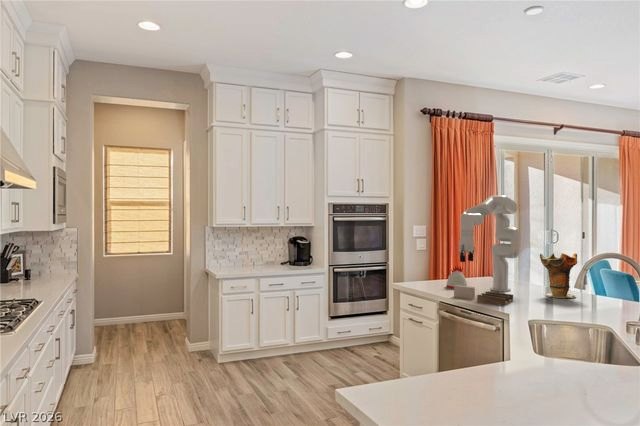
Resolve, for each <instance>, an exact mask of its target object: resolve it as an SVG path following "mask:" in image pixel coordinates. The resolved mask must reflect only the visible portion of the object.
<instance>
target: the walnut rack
mask: <svg viewBox="0 0 640 426" xmlns="http://www.w3.org/2000/svg"><path fill="white" fill-rule="evenodd" d="M476 300H477V301H476V302H477V303H482V302H483V303H482V304H489V303H491V304H490V305H497V304H500V305H499V306H504V305H505V306H508V305H509V304H511V303H514V294H510V293H503V292H502V293H501V292H493V291H485V293H483V292H481V294H477V295H476Z"/></svg>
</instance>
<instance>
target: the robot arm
mask: <svg viewBox="0 0 640 426" xmlns="http://www.w3.org/2000/svg"><path fill="white" fill-rule="evenodd" d="M517 212H518V204H517V203H516V201H515V200H513V199H511V198H510V197H508V196H506V195H490V196H488V197H487V198H486V199H485V200H483V201H482V202H481V203H480V204H478V205H475V206H472V207H469V208H468V209H465V211H464V212H463V213H461V215H460V217H459V222H460V236H459V237H460V238H459V244H458V251H459V252H458V253H459V262H460V263H466V253H468V256H467V261H468V262H474V255H475V249H476V248H475V246H474V245H475V244H474V243H475V242H474V241H475V240H474V228H475V227H474V226H482V225H483V224H484V221H485V217H486V216H489V215H491V213H493V215H494V216H495V219H496V222H495V224H496V225H495V234H494V235H495V239H496V241H498V242H497V243H493V245H492V246H491V255H492V286H491V287H490V290H491V291H495V292H510V291H511V288H510V287H509V262H508V261H507V259H517V258H519V255H520V250H521V248H520V247H521V237H522V236H521V232H520V230H519V228H517V227H510V226H511V221H510V220H511V219H510V217H509V216H508V215H513V214H516V213H517ZM500 242H502V243H500ZM503 242H505V243H503ZM506 242H508V243H506Z"/></svg>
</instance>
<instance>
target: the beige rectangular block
mask: <svg viewBox="0 0 640 426" xmlns="http://www.w3.org/2000/svg"><path fill="white" fill-rule="evenodd" d="M475 296H476V287H475V286H468V285H467V286H459V285H455V286H454V289H453V297H454V298H461V299H470V300H474V298H475ZM475 299H476V298H475Z"/></svg>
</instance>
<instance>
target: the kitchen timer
mask: <svg viewBox="0 0 640 426" xmlns="http://www.w3.org/2000/svg"><path fill="white" fill-rule="evenodd" d="M452 269H453V270H452ZM463 270H464V268H463V267H462V266H456V265H455V267H453V268H451V269H450V271H451V273H450V274H449V275H448V277H447V280H446V288H447V289H451V290H452V289H453V290H454V286H455V285H459V286H468V283H467V279H466V276H465V275H464V274H463V272H462V271H463Z"/></svg>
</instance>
